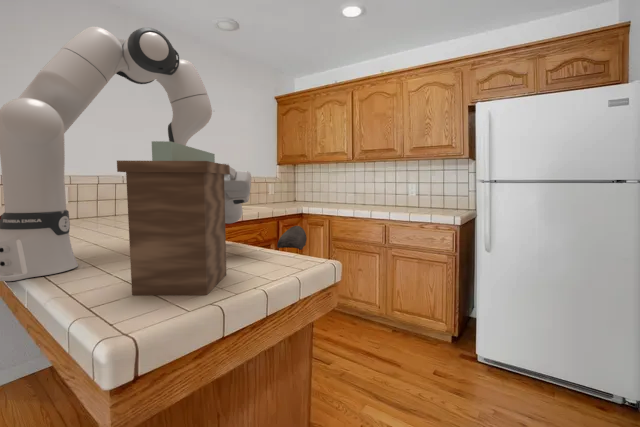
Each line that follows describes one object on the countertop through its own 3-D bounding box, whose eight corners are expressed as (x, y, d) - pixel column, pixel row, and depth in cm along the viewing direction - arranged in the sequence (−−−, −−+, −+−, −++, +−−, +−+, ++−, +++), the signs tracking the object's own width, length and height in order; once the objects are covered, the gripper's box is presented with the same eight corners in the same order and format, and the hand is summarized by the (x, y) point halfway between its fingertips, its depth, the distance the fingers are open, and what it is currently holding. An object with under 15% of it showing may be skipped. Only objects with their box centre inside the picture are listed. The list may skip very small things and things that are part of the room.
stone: (283, 262, 105) (306, 242, 103) (268, 242, 107) (290, 221, 105) (297, 260, 114) (317, 241, 112) (282, 241, 116) (302, 222, 114)
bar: (171, 160, 60) (170, 141, 59) (152, 160, 60) (151, 141, 59) (214, 167, 86) (214, 153, 85) (201, 167, 86) (201, 153, 85)
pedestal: (210, 296, 62) (206, 160, 60) (123, 296, 62) (116, 160, 60) (231, 273, 78) (229, 165, 76) (162, 273, 78) (158, 165, 76)
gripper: (185, 182, 98) (166, 154, 85) (255, 183, 98) (247, 155, 86) (181, 201, 95) (161, 176, 83) (253, 202, 95) (244, 176, 83)
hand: (205, 165), depth 84 cm, fingers open, 8 cm apart
